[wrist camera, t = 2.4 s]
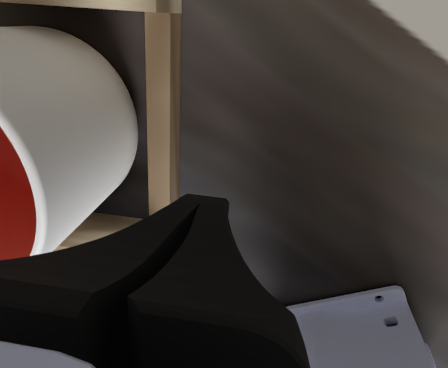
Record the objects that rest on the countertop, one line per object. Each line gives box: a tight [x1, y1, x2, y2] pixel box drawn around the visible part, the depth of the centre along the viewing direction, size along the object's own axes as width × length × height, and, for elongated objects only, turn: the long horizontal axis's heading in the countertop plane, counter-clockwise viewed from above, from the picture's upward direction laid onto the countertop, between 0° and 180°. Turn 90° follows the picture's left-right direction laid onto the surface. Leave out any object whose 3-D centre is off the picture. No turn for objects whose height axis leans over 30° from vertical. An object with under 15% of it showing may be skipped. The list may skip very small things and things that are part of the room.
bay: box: [0, 0, 182, 251], centre depth 20 cm, size 12×15×4 cm
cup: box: [0, 26, 138, 260], centre depth 18 cm, size 10×10×10 cm
